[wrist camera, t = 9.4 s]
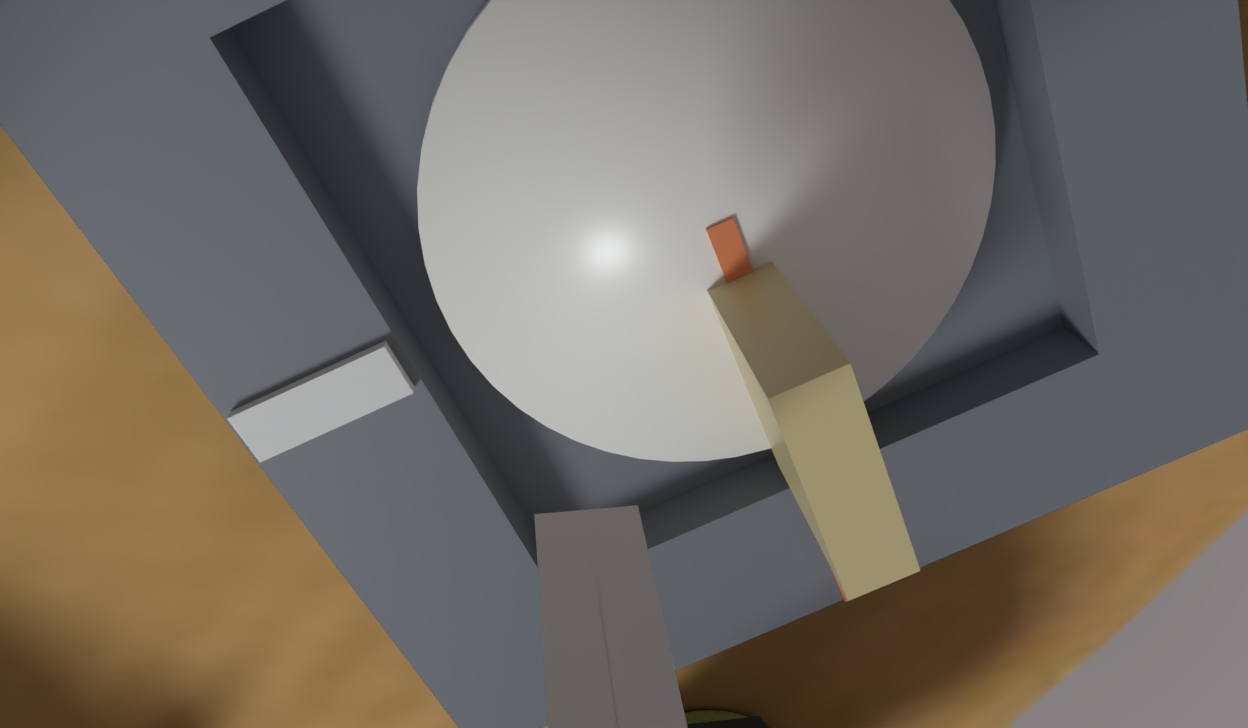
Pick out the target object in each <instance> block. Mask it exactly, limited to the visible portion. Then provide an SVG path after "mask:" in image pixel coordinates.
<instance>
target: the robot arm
mask: <svg viewBox="0 0 1248 728" xmlns="http://www.w3.org/2000/svg"><path fill="white" fill-rule="evenodd" d="M534 518H535V534H536V549H537V564H538V579H539V594H540V609H541V624H542V639H543V654H544V669H545V684H546V699H547V714H548V728H768V727H767V725H766V724H765V723H764V722H763V721H762V719H761V718H760V717H759V716H755V717H747V718H738V719H729V720H720V721H711V722H702V723H693V724H687V722H686V718H685V714H684V709H683V705H682V700H681V696H680V691H679V687H678V682H677V678H676V673H675V669H674V664H673V660H672V655H671V651H670V646H669V642H668V638H667V633H666V629H665V624H664V620H663V615H662V611H661V606H660V602H659V597H658V593H657V588H656V584H655V579H654V575H653V570H652V566H651V562H650V557H649V553H648V548H647V544H646V539H645V535H644V530H643V526H642V521H641V517H640V512H639V508H638V505H634V506H622V507H611V508H600V509H588V510H577V511H566V512H554V513H543V514H534Z"/></svg>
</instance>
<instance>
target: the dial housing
mask: <svg viewBox="0 0 1248 728" xmlns="http://www.w3.org/2000/svg"><path fill="white" fill-rule="evenodd" d="M486 1H487V0H0V125H1V126H2V127H3V129H4V130H5V131H6V133H7V134H8V135H9V137H10V138H11V139H12V141H13V142H14V143H15V144H16V146H17V147H18V148H19V150H20V151H21V152H22V154H23V155H24V156H25V158H26V159H27V160H28V162H29V163H30V164H31V166H32V167H33V168H34V169H35V171H36V172H37V173H38V175H39V176H40V177H41V179H42V180H43V181H44V183H45V184H46V185H47V187H48V188H49V189H50V191H51V192H52V193H53V194H54V196H55V197H56V198H57V200H58V201H59V202H60V204H61V205H62V206H63V208H64V209H65V210H66V212H67V213H68V214H69V216H70V217H71V218H72V219H73V221H74V222H75V223H76V225H77V226H78V227H79V229H80V230H81V231H82V233H83V234H84V235H85V237H86V238H87V239H88V241H89V242H90V243H91V244H92V246H93V247H94V248H95V250H96V251H97V252H98V254H99V255H100V256H101V258H102V259H103V260H104V262H105V263H106V264H107V266H108V267H109V268H110V269H111V271H112V272H113V273H114V275H115V276H116V277H117V279H118V280H119V281H120V283H121V284H122V285H123V287H124V288H125V289H126V291H127V292H128V293H129V294H130V296H131V297H132V298H133V300H134V301H135V302H136V304H137V305H138V306H139V308H140V309H141V310H142V312H143V313H144V314H145V316H146V317H147V318H148V319H149V321H150V322H151V323H152V325H153V326H154V327H155V329H156V330H157V331H158V333H159V334H160V335H161V337H162V338H163V339H164V341H165V342H166V343H167V344H168V346H169V347H170V348H171V350H172V351H173V352H174V354H175V355H176V356H177V358H178V359H179V360H180V362H181V363H182V364H183V366H184V367H185V368H186V369H187V371H188V372H189V373H190V375H191V376H192V377H193V379H194V380H195V381H196V383H197V384H198V385H199V387H200V388H201V389H202V391H203V392H204V393H205V394H206V396H207V397H208V398H209V400H210V401H211V402H212V404H213V405H214V406H215V408H216V409H217V410H218V412H219V413H220V414H221V416H222V417H223V418H224V419H225V421H226V422H227V423H228V425H229V426H230V427H231V429H232V430H233V431H234V433H235V434H236V435H237V437H238V438H239V439H240V441H241V442H242V443H243V444H244V446H245V447H246V448H247V450H248V451H249V452H250V454H251V455H252V456H253V458H254V459H255V460H256V462H257V463H258V464H259V466H260V467H261V468H262V469H263V471H264V472H265V473H266V475H267V476H268V477H269V479H270V480H271V481H272V483H273V484H274V485H275V487H276V488H277V489H278V490H279V492H280V493H281V494H282V496H283V497H284V498H285V500H286V501H287V502H288V504H289V505H290V506H291V508H292V509H293V510H294V512H295V513H296V514H297V515H298V517H299V518H300V519H301V521H302V522H303V523H304V525H305V526H306V527H307V529H308V530H309V531H310V533H311V534H312V535H313V537H314V538H315V539H316V540H317V542H318V543H319V544H320V546H321V547H322V548H323V550H324V551H325V552H326V554H327V555H328V556H329V558H330V559H331V560H332V562H333V563H334V564H335V565H336V567H337V568H338V569H339V571H340V572H341V573H342V575H343V576H344V577H345V579H346V580H347V581H348V583H349V584H350V585H351V587H352V588H353V589H354V590H355V592H356V593H357V594H358V596H359V597H360V598H361V600H362V601H363V602H364V604H365V605H366V606H367V608H368V609H369V610H370V612H371V613H372V614H373V615H374V617H375V618H376V619H377V621H378V622H379V623H380V625H381V626H382V627H383V629H384V630H385V631H386V633H387V634H388V635H389V637H390V638H391V639H392V640H393V642H394V643H395V644H396V646H397V647H398V648H399V650H400V651H401V652H402V654H403V655H404V656H405V658H406V659H407V660H408V662H409V663H410V664H411V665H412V667H413V668H414V669H415V671H416V672H417V673H418V675H419V676H420V677H421V679H422V680H423V681H424V683H425V684H426V685H427V687H428V688H429V689H430V690H431V692H432V693H433V694H434V696H435V697H436V698H437V700H438V701H439V702H440V704H441V705H442V706H443V708H444V709H445V710H446V712H447V713H448V714H449V715H450V717H451V718H452V719H453V721H454V722H455V723H456V725H457V726H458V727H459V728H541V727H544V726H546V725H548V714H547V699H546V684H545V669H544V654H543V639H542V624H541V609H540V594H539V579H538V564H537V549H536V534H535V518H534V514H543V513H554V512H566V511H577V510H588V509H600V508H611V507H622V506H634V505H638V508H639V512H640V517H641V521H642V526H643V530H644V535H645V539H646V544H647V548H648V553H649V557H650V562H651V566H652V570H653V575H654V579H655V584H656V588H657V593H658V597H659V602H660V606H661V611H662V615H663V620H664V624H665V629H666V633H667V638H668V642H669V646H670V651H671V655H672V660H673V664H674V669H675V671H676V670H679V669H681V668H683V667H686V666H688V665H690V664H693V663H695V662H698V661H700V660H702V659H705V658H707V657H709V656H712V655H714V654H717V653H719V652H721V651H724V650H726V649H728V648H731V647H733V646H735V645H738V644H740V643H743V642H745V641H747V640H750V639H752V638H754V637H757V636H759V635H762V634H764V633H766V632H769V631H771V630H773V629H776V628H778V627H780V626H783V625H785V624H788V623H790V622H792V621H795V620H797V619H799V618H802V617H804V616H807V615H809V614H811V613H814V612H816V611H818V610H821V609H823V608H825V607H828V606H830V605H833V604H835V603H837V602H840V601H842V600H845V601H846V602H848V600H847V598H846V596H845V594H844V592H843V590H842V588H841V586H840V584H839V582H838V580H837V578H836V576H835V574H834V572H833V571H832V569H831V567H830V565H829V563H828V561H827V559H826V557H825V555H824V553H823V551H822V549H821V547H820V545H819V543H818V541H817V540H816V538H815V536H814V534H813V532H812V530H811V528H810V526H809V524H808V522H807V520H806V518H805V516H804V514H803V512H802V510H801V508H800V507H799V505H798V503H797V501H796V499H795V497H794V495H793V493H792V491H791V489H790V487H789V485H788V483H787V481H786V479H785V477H784V476H783V474H782V472H781V470H780V468H779V466H778V463H777V461H776V459H775V456H774V454H773V451H772V449H771V448H770V449H767V450H763V451H759V452H754V453H750V454H746V455H742V456H738V457H732V458H724V459H717V460H709V461H686V462H668V461H658V460H647V459H638V458H633V457H628V456H624V455H619V454H614V453H610V452H606V451H603V450H600V449H597V448H594V447H591V446H588V445H585V444H583V443H580V442H577V441H575V440H572V439H570V438H568V437H566V436H564V435H562V434H560V433H558V432H556V431H554V430H552V429H550V428H548V427H546V426H545V425H543V424H542V423H540V422H538V421H537V420H535V419H534V418H532V417H531V416H529V415H528V414H526V413H525V412H523V411H522V410H520V409H519V408H518V407H516V406H515V405H514V404H513V403H512V402H511V401H510V400H508V399H507V398H506V397H505V396H504V395H503V394H501V393H500V392H499V391H498V390H497V389H496V388H495V387H493V385H492V384H491V383H490V382H489V381H488V380H487V379H486V378H485V376H484V375H483V374H482V373H481V372H480V371H479V370H478V368H477V367H476V366H475V365H474V364H473V363H472V362H471V360H470V359H469V357H468V356H467V354H466V353H465V351H464V350H463V348H462V347H461V345H460V344H459V342H458V341H457V339H456V338H455V336H454V335H453V333H452V332H451V330H450V328H449V326H448V324H447V322H446V319H445V317H444V315H443V313H442V311H441V309H440V307H439V305H438V303H437V301H436V298H435V295H434V292H433V289H432V286H431V283H430V280H429V276H428V273H427V270H426V267H425V263H424V257H423V252H422V246H421V240H420V234H419V229H418V202H417V185H418V176H419V166H420V156H421V148H422V143H423V138H424V133H425V129H426V125H427V121H428V117H429V113H430V109H431V105H432V101H433V97H434V95H435V92H436V90H437V87H438V85H439V82H440V80H441V77H442V75H443V72H444V70H445V67H446V65H447V62H448V60H449V58H450V56H451V55H452V53H453V51H454V49H455V48H456V46H457V44H458V42H459V40H460V39H461V37H462V35H463V33H464V32H465V30H466V28H467V26H468V25H469V23H470V22H471V21H472V19H473V18H474V17H475V15H476V14H477V13H478V11H479V10H480V9H481V8H482V6H483V5H484V4H485V2H486ZM950 2H951V3H952V5H953V6H954V8H955V9H956V11H957V12H958V14H959V16H960V17H961V19H962V20H963V22H964V24H965V26H966V28H967V30H968V33H969V35H970V37H971V39H972V41H973V44H974V46H975V48H976V50H977V52H978V55H979V57H980V60H981V64H982V67H983V71H984V74H985V78H986V81H987V84H988V88H989V91H990V97H991V104H992V111H993V118H994V125H995V159H996V166H995V175H994V183H993V192H992V201H991V205H990V209H989V214H988V218H987V222H986V226H985V230H984V234H983V238H982V240H981V243H980V246H979V248H978V251H977V254H976V257H975V259H974V262H973V265H972V267H971V270H970V272H969V274H968V276H967V278H966V280H965V282H964V284H963V286H962V288H961V290H960V292H959V294H958V296H957V298H956V300H955V302H954V303H953V305H952V306H951V308H950V309H949V311H948V312H947V314H946V315H945V317H944V318H943V320H942V321H941V323H940V324H939V326H938V327H937V329H936V331H935V332H934V333H933V334H932V336H931V337H930V338H929V339H928V340H927V342H926V343H925V344H924V345H923V346H922V348H921V349H920V350H919V351H918V353H917V354H916V355H915V356H914V357H913V359H912V360H910V361H909V362H908V363H907V364H906V365H905V366H904V367H903V368H902V369H901V370H900V371H899V372H898V373H897V374H896V375H895V376H894V377H893V378H892V379H891V380H890V381H889V382H888V383H887V384H885V385H884V386H883V387H882V388H880V389H879V390H878V391H877V392H875V393H874V394H873V395H872V396H870V397H869V398H868V399H866V400H865V401H864V405H865V408H866V411H867V414H868V417H869V419H870V422H871V425H872V428H873V431H874V434H875V437H876V440H877V443H878V446H879V449H880V452H881V455H882V458H883V461H884V464H885V467H886V470H887V473H888V476H889V479H890V482H891V485H892V488H893V491H894V494H895V496H896V499H897V502H898V505H899V508H900V511H901V514H902V517H903V520H904V523H905V526H906V529H907V532H908V535H909V538H910V541H911V544H912V547H913V550H914V553H915V556H916V559H917V562H918V565H919V568H920V567H923V566H925V565H927V564H930V563H932V562H934V561H937V560H939V559H941V558H944V557H946V556H949V555H951V554H953V553H956V552H958V551H960V550H963V549H965V548H968V547H970V546H972V545H975V544H977V543H979V542H982V541H984V540H986V539H989V538H991V537H994V536H996V535H998V534H1001V533H1003V532H1005V531H1008V530H1010V529H1013V528H1015V527H1017V526H1020V525H1022V524H1024V523H1027V522H1029V521H1031V520H1034V519H1036V518H1039V517H1041V516H1043V515H1046V514H1048V513H1050V512H1053V511H1055V510H1058V509H1060V508H1062V507H1065V506H1067V505H1069V504H1072V503H1074V502H1076V501H1079V500H1081V499H1084V498H1086V497H1088V496H1091V495H1093V494H1095V493H1098V492H1100V491H1102V490H1105V489H1107V488H1110V487H1112V486H1114V485H1117V484H1119V483H1121V482H1124V481H1126V480H1129V479H1131V478H1133V477H1136V476H1138V475H1140V474H1143V473H1145V472H1147V471H1150V470H1152V469H1155V468H1157V467H1159V466H1162V465H1164V464H1166V463H1169V462H1171V461H1174V460H1176V459H1178V458H1181V457H1183V456H1185V455H1188V454H1190V453H1192V452H1195V451H1197V450H1200V449H1202V448H1204V447H1207V446H1209V445H1211V444H1214V443H1216V442H1219V441H1221V440H1223V439H1226V438H1228V437H1230V436H1233V435H1235V434H1237V433H1240V432H1242V431H1245V430H1247V429H1248V104H1247V93H1246V82H1245V71H1244V60H1243V49H1242V38H1241V27H1240V16H1239V5H1238V0H950ZM873 591H874V590H873ZM861 596H862V595H861ZM856 598H857V597H856ZM854 599H855V598H854ZM849 601H850V600H849Z"/></svg>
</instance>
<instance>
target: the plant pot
mask: <svg viewBox="0 0 1248 728" xmlns="http://www.w3.org/2000/svg"><path fill="white" fill-rule="evenodd" d="M684 714H685V718H686V722H687V724H693V723H702V722H711V721H720V720H729V719H738V718H747V716H744V715H741V714H738V713H734V712H729V711H717V710H701V711H692V712H686V713H684Z"/></svg>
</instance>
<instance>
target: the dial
mask: <svg viewBox="0 0 1248 728" xmlns="http://www.w3.org/2000/svg"><path fill="white" fill-rule="evenodd" d="M995 166H996V159H995V125H994V118H993V111H992V104H991V97H990V91H989V88H988V84H987V81H986V78H985V74H984V71H983V67H982V64H981V60H980V57H979V55H978V52H977V50H976V48H975V46H974V44H973V41H972V39H971V37H970V35H969V33H968V30H967V28H966V26H965V24H964V22H963V20H962V19H961V17H960V16H959V14H958V12H957V11H956V9H955V8H954V6H953V5H952V3H951V2H950V0H487V1H486V2H485V4H484V5H483V6H482V8H481V9H480V10H479V11H478V13H477V14H476V15H475V17H474V18H473V19H472V21H471V22H470V23H469V25H468V26H467V28H466V30H465V32H464V33H463V35H462V37H461V39H460V40H459V42H458V44H457V46H456V48H455V49H454V51H453V53H452V55H451V56H450V58H449V60H448V62H447V65H446V67H445V70H444V72H443V75H442V77H441V80H440V82H439V85H438V87H437V90H436V92H435V95H434V97H433V101H432V105H431V109H430V113H429V117H428V121H427V125H426V129H425V133H424V138H423V143H422V148H421V156H420V166H419V176H418V185H417V202H418V229H419V234H420V240H421V246H422V252H423V257H424V263H425V267H426V270H427V273H428V276H429V280H430V283H431V286H432V289H433V292H434V295H435V298H436V301H437V303H438V305H439V307H440V309H441V311H442V313H443V315H444V317H445V319H446V322H447V324H448V326H449V328H450V330H451V332H452V333H453V335H454V336H455V338H456V339H457V341H458V342H459V344H460V345H461V347H462V348H463V350H464V351H465V353H466V354H467V356H468V357H469V359H470V360H471V362H472V363H473V364H474V365H475V366H476V367H477V368H478V370H479V371H480V372H481V373H482V374H483V375H484V376H485V378H486V379H487V380H488V381H489V382H490V383H491V384H492V385H493V387H495V388H496V389H497V390H498V391H499V392H500V393H501V394H503V395H504V396H505V397H506V398H507V399H508V400H510V401H511V402H512V403H513V404H514V405H515V406H516V407H518V408H519V409H520V410H522V411H523V412H525V413H526V414H528V415H529V416H531V417H532V418H534V419H535V420H537V421H538V422H540V423H542V424H543V425H545V426H546V427H548V428H550V429H552V430H554V431H556V432H558V433H560V434H562V435H564V436H566V437H568V438H570V439H572V440H575V441H577V442H580V443H583V444H585V445H588V446H591V447H594V448H597V449H600V450H603V451H606V452H610V453H614V454H619V455H624V456H628V457H633V458H638V459H647V460H658V461H668V462H686V461H709V460H717V459H724V458H732V457H738V456H742V455H746V454H750V453H754V452H759V451H763V450H767V449H770V448H771V449H772V451H773V454H774V456H775V459H776V461H777V463H778V466H779V468H780V470H781V472H782V474H783V476H784V477H785V479H786V481H787V483H788V485H789V487H790V489H791V491H792V493H793V495H794V497H795V499H796V501H797V503H798V505H799V507H800V508H801V510H802V512H803V514H804V516H805V518H806V520H807V522H808V524H809V526H810V528H811V530H812V532H813V534H814V536H815V538H816V540H817V541H818V543H819V545H820V547H821V549H822V551H823V553H824V555H825V557H826V559H827V561H828V563H829V565H830V567H831V569H832V571H833V572H834V574H835V576H836V578H837V580H838V582H839V584H840V586H841V588H842V590H843V592H844V594H845V596H846V598H847V600H848V601H849V600H852V599H854V598H856V597H859V596H861V595H864V594H866V593H869V592H871V591H873V590H876V589H878V588H881V587H883V586H885V585H888V584H890V583H893V582H895V581H897V580H900V579H902V578H905V577H907V576H910V575H912V574H914V573H917V572H919V571H921V570H920V568H919V565H918V562H917V559H916V556H915V553H914V550H913V547H912V544H911V541H910V538H909V535H908V532H907V529H906V526H905V523H904V520H903V517H902V514H901V511H900V508H899V505H898V502H897V499H896V496H895V494H894V491H893V488H892V485H891V482H890V479H889V476H888V473H887V470H886V467H885V464H884V461H883V458H882V455H881V452H880V449H879V446H878V443H877V440H876V437H875V434H874V431H873V428H872V425H871V422H870V419H869V417H868V414H867V411H866V408H865V405H864V401H865V400H866V399H868V398H869V397H870V396H872V395H873V394H874V393H875V392H877V391H878V390H879V389H880V388H882V387H883V386H884V385H885V384H887V383H888V382H889V381H890V380H891V379H892V378H893V377H894V376H895V375H896V374H897V373H898V372H899V371H900V370H901V369H902V368H903V367H904V366H905V365H906V364H907V363H908V362H909V361H910V360H912V359H913V357H914V356H915V355H916V354H917V353H918V351H919V350H920V349H921V348H922V346H923V345H924V344H925V343H926V342H927V340H928V339H929V338H930V337H931V336H932V334H933V333H934V332H935V331H936V329H937V327H938V326H939V324H940V323H941V321H942V320H943V318H944V317H945V315H946V314H947V312H948V311H949V309H950V308H951V306H952V305H953V303H954V302H955V300H956V298H957V296H958V294H959V292H960V290H961V288H962V286H963V284H964V282H965V280H966V278H967V276H968V274H969V272H970V270H971V267H972V265H973V262H974V259H975V257H976V254H977V251H978V248H979V246H980V243H981V240H982V238H983V234H984V230H985V226H986V222H987V218H988V214H989V209H990V205H991V201H992V192H993V183H994V175H995Z"/></svg>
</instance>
